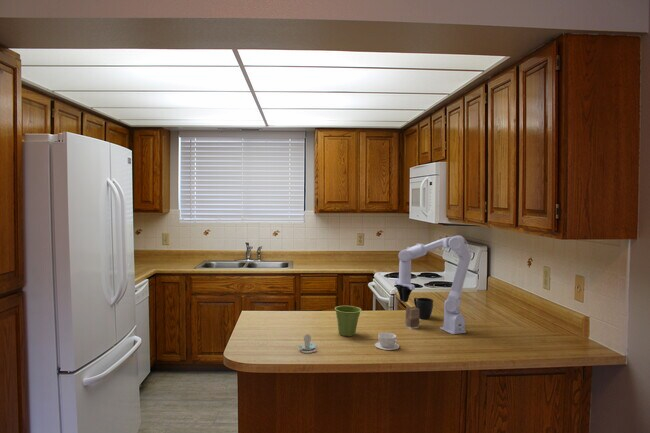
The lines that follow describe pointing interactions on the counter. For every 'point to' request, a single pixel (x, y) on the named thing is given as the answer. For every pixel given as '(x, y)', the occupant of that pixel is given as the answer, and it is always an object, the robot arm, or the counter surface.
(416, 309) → the walnut block
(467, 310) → the counter surface
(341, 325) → the plant pot
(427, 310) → the mug
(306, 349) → the pacifier
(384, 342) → the teacup
